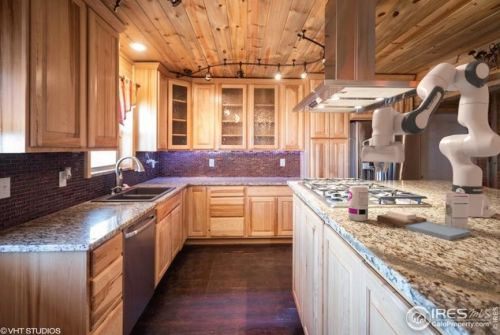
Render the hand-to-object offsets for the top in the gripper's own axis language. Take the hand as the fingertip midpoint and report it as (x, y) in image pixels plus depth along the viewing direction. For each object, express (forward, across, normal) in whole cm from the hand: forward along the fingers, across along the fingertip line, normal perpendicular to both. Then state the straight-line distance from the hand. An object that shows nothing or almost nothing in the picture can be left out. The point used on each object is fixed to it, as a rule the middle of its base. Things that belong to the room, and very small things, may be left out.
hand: (381, 172), depth 125 cm
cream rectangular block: (+19, -10, 0) cm, 21 cm away
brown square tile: (+21, -10, 0) cm, 24 cm away
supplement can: (+21, +2, +12) cm, 25 cm away
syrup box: (+21, -26, -11) cm, 35 cm away
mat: (+21, -25, 0) cm, 33 cm away
